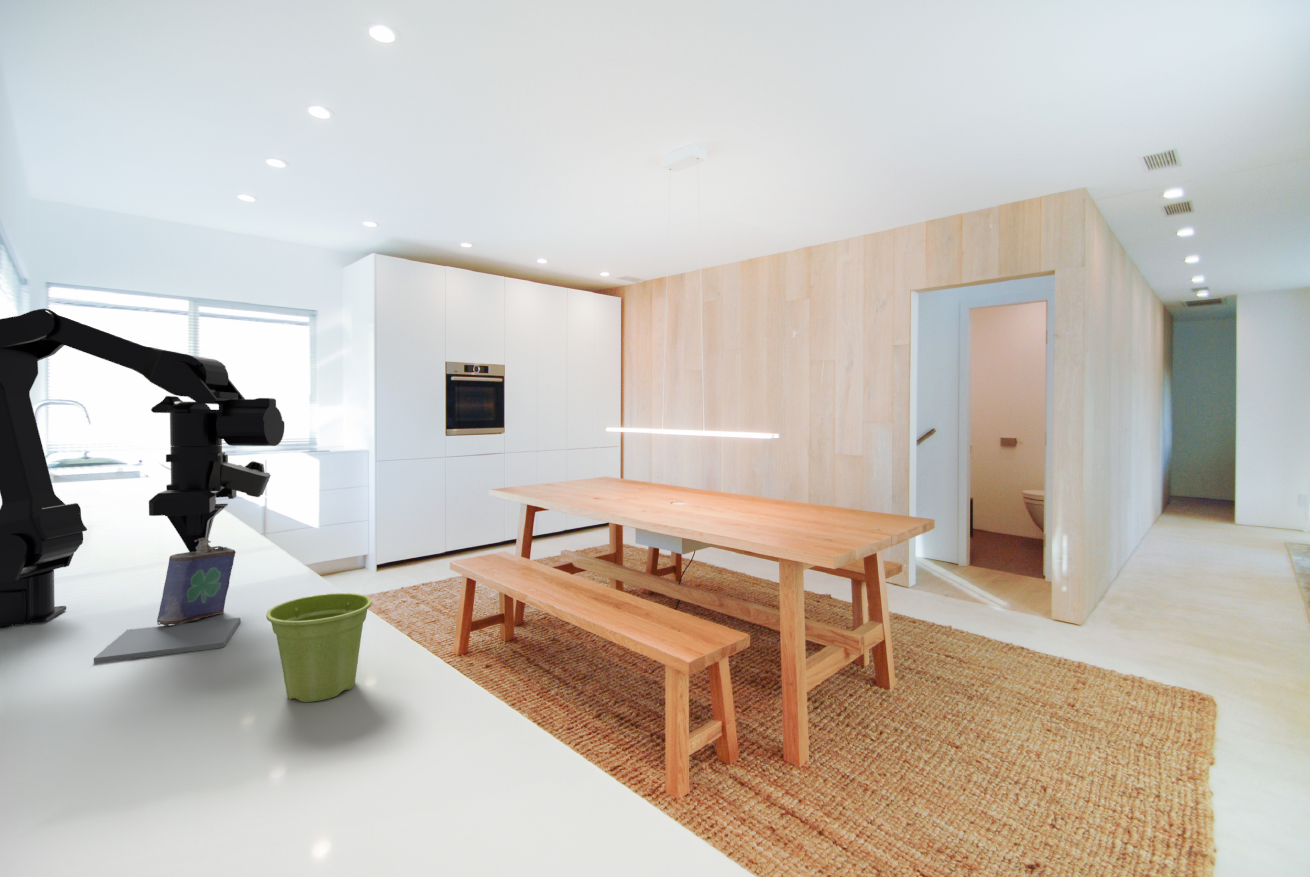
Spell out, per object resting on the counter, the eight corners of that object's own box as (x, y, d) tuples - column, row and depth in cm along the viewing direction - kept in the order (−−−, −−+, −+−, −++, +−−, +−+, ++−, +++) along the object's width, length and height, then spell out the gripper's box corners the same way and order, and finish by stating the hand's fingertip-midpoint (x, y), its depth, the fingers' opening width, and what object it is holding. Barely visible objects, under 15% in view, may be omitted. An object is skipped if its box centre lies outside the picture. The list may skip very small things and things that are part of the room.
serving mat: (127, 634, 76) (127, 629, 76) (240, 622, 81) (240, 617, 81) (93, 663, 67) (93, 658, 67) (223, 647, 72) (223, 642, 72)
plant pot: (260, 720, 55) (260, 626, 54) (271, 680, 63) (271, 599, 63) (373, 699, 59) (373, 612, 59) (369, 664, 67) (369, 588, 67)
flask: (167, 627, 76) (183, 544, 77) (148, 623, 77) (163, 540, 77) (229, 612, 85) (242, 537, 86) (211, 608, 86) (225, 534, 86)
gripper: (254, 448, 78) (255, 566, 79) (274, 443, 95) (275, 540, 95) (146, 449, 73) (148, 575, 74) (187, 443, 90) (188, 546, 91)
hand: (198, 557), depth 83 cm, fingers closed
